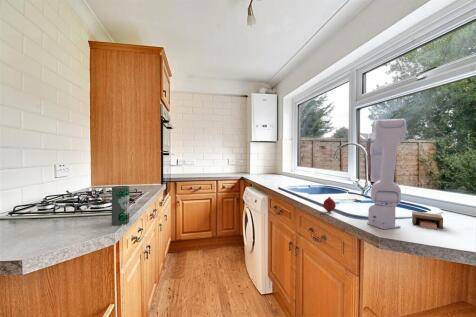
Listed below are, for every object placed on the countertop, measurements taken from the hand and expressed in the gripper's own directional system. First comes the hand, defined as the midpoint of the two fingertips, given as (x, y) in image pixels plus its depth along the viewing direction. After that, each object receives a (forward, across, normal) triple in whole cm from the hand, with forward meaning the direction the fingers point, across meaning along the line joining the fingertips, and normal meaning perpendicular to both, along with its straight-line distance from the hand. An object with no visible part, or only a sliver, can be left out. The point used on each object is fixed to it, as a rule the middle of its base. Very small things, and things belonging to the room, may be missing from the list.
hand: (377, 195), depth 108 cm
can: (+10, -84, +84) cm, 119 cm away
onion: (+10, -10, +20) cm, 24 cm away
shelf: (+9, -5, -18) cm, 21 cm away
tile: (+10, -8, -18) cm, 22 cm away
